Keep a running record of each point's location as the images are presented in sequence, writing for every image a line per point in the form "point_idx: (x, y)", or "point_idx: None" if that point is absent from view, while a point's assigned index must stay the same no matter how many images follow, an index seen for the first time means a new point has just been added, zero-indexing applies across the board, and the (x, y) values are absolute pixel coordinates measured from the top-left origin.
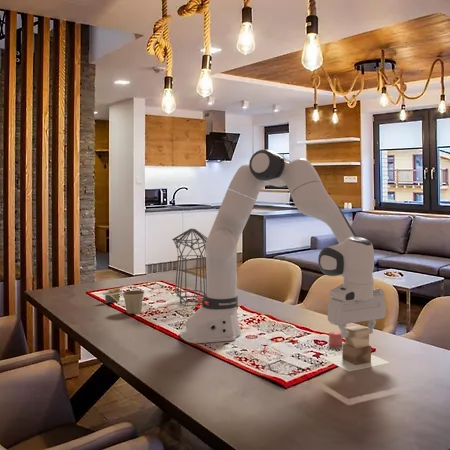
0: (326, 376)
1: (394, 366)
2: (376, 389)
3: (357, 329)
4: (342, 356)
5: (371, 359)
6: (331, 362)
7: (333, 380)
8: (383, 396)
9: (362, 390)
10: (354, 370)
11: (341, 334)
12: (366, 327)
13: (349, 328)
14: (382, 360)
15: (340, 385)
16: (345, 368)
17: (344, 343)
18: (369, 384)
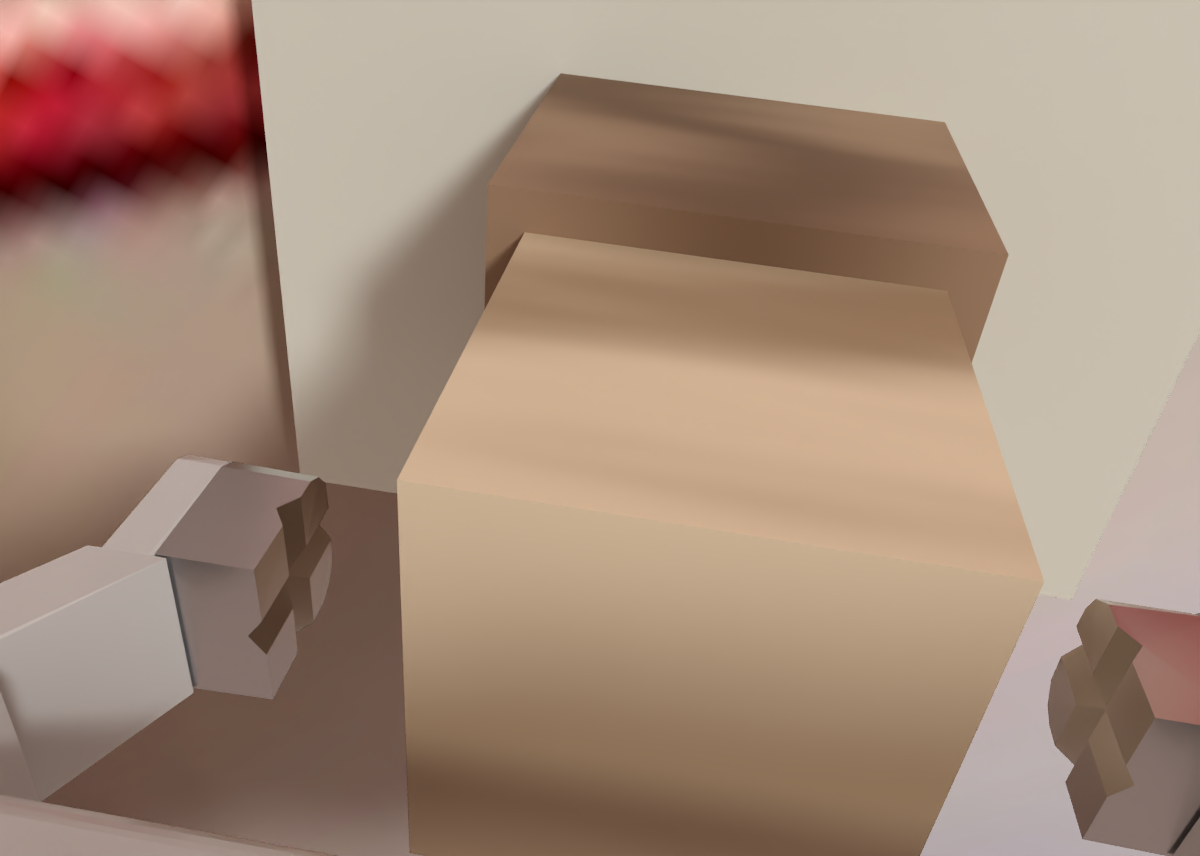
0: (31, 312)
1: (1115, 580)
2: (360, 758)
3: (610, 777)
4: (552, 86)
5: (979, 377)
6: (262, 96)
7: (62, 435)
8: (319, 837)
9: (224, 709)
10: (394, 492)
11: (156, 499)
12: (1169, 742)
13: (455, 611)
14: (1079, 492)
15: (75, 550)
16: (320, 392)
17: (507, 228)
18: (377, 680)
